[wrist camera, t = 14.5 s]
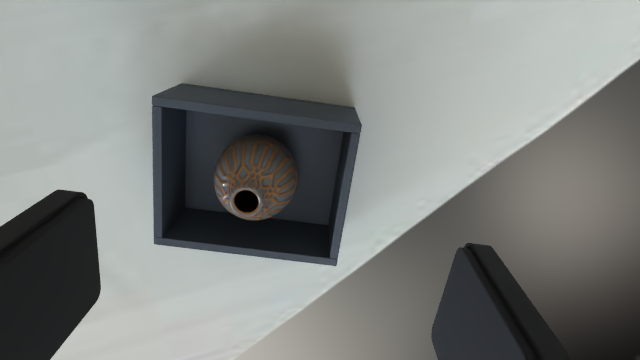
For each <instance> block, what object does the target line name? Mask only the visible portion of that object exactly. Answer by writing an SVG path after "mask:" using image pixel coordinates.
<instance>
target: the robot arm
mask: <svg viewBox="0 0 640 360" xmlns="http://www.w3.org/2000/svg"><path fill="white" fill-rule="evenodd" d="M100 290H101V285H100V273H99V261H98V249H97V237H96V225H95V213H94V204H93V202H92V200H90V199H88V198H87V196H86V194H84V193H82V192H74V191H66V190H56V191H54V192H53V193H51V194H50V195H48V196H47V197H45V198H44V199H42V200H41V201H39V202H37V203H36V204H34V205H33V206H31V207H30V208H28V209H27V210H25V211H24V212H22V213H21V214H19V215H18V216H16V217H15V218H13V219H11V220H10V221H8V222H7V223H5V224H4V225H2V226H1V227H0V360H50V359H51V358H52V356H53V355H54V354H55V353H56V351H57V350H58V349H59V348H60V346H61V345H62V344H63V343H64V341H65V340H66V339H67V338H68V336H69V335H70V334H71V333H72V331H73V330H74V329H75V328H76V326H77V325H78V324H79V323H80V321H81V320H82V319H83V318H84V316H85V315H86V314H87V313H88V311H89V310H90V309H91V308H92V306H93V305H94V304H95V303H96V301H97V299H98V297H99V294H100ZM432 342H433V345H434V349H435V352H436V355H437V358H438V360H572V359H571V357H570V356H569V354H568V353H567V351H566V350H565V349H564V347H563V346H562V345H561V343H560V342H559V340H558V339H557V338H556V336H555V335H554V333H553V332H552V331H551V329H550V328H549V326H548V325H547V323H546V322H545V321H544V319H543V318H542V316H541V315H540V314H539V312H538V311H537V310H536V308H535V307H534V305H533V304H532V302H531V301H530V300H529V298H528V297H527V296H526V294H525V293H524V291H523V290H522V289H521V287H520V286H519V284H518V283H517V281H516V280H515V279H514V277H513V276H512V274H511V273H510V272H509V270H508V269H507V267H506V266H505V265H504V263H503V262H502V261H501V259H500V258H499V256H498V255H497V253H496V252H495V251H494V250H493V248H492V247H491V246H488V245H480V244H472V243H467V244H466V245H465V246H464V248H458V250H457V252H456V254H455V258H454V261H453V264H452V267H451V270H450V273H449V276H448V280H447V283H446V286H445V289H444V293H443V295H442V298H441V302H440V305H439V308H438V311H437V314H436V317H435V321H434V324H433V327H432Z"/></svg>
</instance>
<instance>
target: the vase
mask: <svg viewBox="0 0 640 360" xmlns="http://www.w3.org/2000/svg"><path fill="white" fill-rule="evenodd" d="M297 180H298V172H297V165H296V162H295V159H294V157H293V155H292V154H291V152H290V151H289V149H288V148H287V147H286V146H285V145H284V144H283V143H281V142H280V141H278V140H277V139H275V138H273V137H270V136H266V135H260V134H254V135H248V136H244V137H241V138H239V139H237V140H235V141H234V142H232V143H231V144H230V145H229V146H227V148H226V149H225V150H224V151H223V152H222V154H221V155H220V157H219V158H218V160H217V163H216V166H215V170H214V187H215V191H216V194H217V197H218V199H219V200H220V202H221V204H222V205H223V206H224V207H225V208H226V209H227V210H228V211H229V212H230V213H232V214H233V215H235V216H237V217H240V218H242V219H246V220H263V219H266V218H269V217H272V216H274V215H276V214H277V213H279V212H280V211H281V210H283V209H284V208H285V207H286V206H287V204H288V203H289V202H290V200H291V199H292V197H293V195H294V193H295V190H296V186H297Z"/></svg>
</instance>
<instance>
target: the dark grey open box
mask: <svg viewBox="0 0 640 360" xmlns="http://www.w3.org/2000/svg"><path fill="white" fill-rule="evenodd" d="M152 105H153V106H152V128H153V208H154V244H157V245H166V246H174V247H182V248H191V249H199V250H207V251H216V252H224V253H232V254H241V255H249V256H257V257H266V258H274V259H282V260H291V261H299V262H307V263H316V264H324V265H332V266H336V265H337V258H338V253H339V248H340V242H341V237H342V231H343V226H344V220H345V214H346V209H347V203H348V198H349V192H350V187H351V181H352V176H353V170H354V165H355V159H356V154H357V148H358V143H359V137H360V132H361V126H362V125H361V122H360V120H359V118H358V115H357V113H356V110H355V108H354V107H347V106H340V105H332V104H325V103H318V102H311V101H304V100H297V99H290V98H282V97H275V96H268V95H261V94H254V93H247V92H240V91H232V90H225V89H218V88H211V87H204V86H197V85H190V84H182V83H181V84H179V85H177V86H175V87H172V88H170V89H168V90H165V91H163V92H161V93H158V94H156V95H154V96H152ZM254 134H260V135H266V136H270V137H273V138H275V139H277V140H278V141H280V142H281V143H283V144H284V145H285V146H286V147H287V148H288V149H289V151H290V152H291V154H292V155H293V157H294V159H295V162H296V165H297V172H298V180H297V186H296V190H295V193H294V195H293V197H292V199H291V200H290V202H289V203H288V204H287V206H286V207H285V208H284V209H283V210H281V211H280V212H279V213H277V214H276V215H274V216H272V217H269V218H266V219H263V220H246V219H242V218H240V217H237V216H235V215H233V214H232V213H230V212H229V211H228V210H227V209H226V208H225V207H224V206H223V205H222V204H221V202H220V200H219V199H218V197H217V194H216V191H215V187H214V170H215V166H216V163H217V160H218V158H219V157H220V155H221V154H222V152H223V151H224V150H225V149H226V148H227V146H229V145H230V144H231V143H232V142H234V141H235V140H237V139H239V138H241V137H244V136H248V135H254Z"/></svg>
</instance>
